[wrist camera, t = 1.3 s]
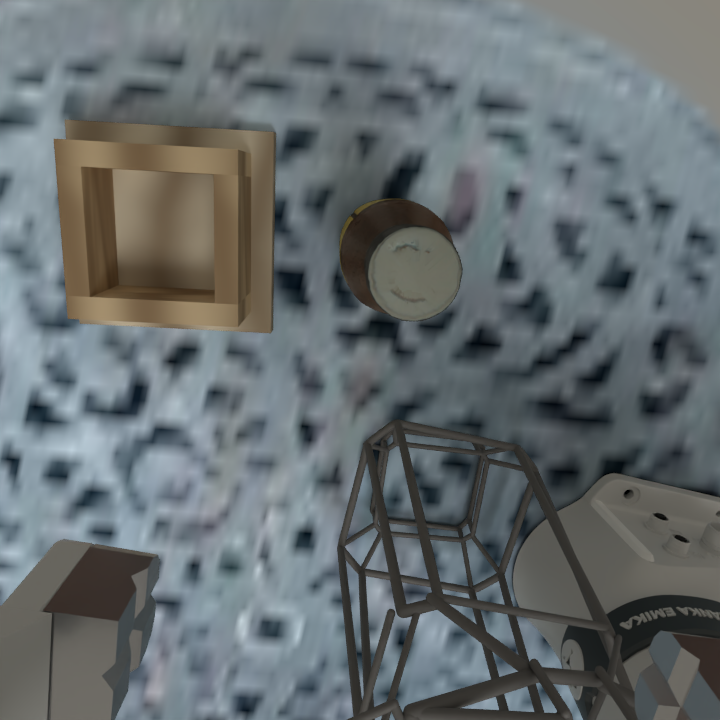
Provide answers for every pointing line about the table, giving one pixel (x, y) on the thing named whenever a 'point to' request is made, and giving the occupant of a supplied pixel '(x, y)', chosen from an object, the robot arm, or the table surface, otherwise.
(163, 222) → the square wooden tray
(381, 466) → the geometric lantern
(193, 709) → the table surface
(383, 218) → the sauce bottle
